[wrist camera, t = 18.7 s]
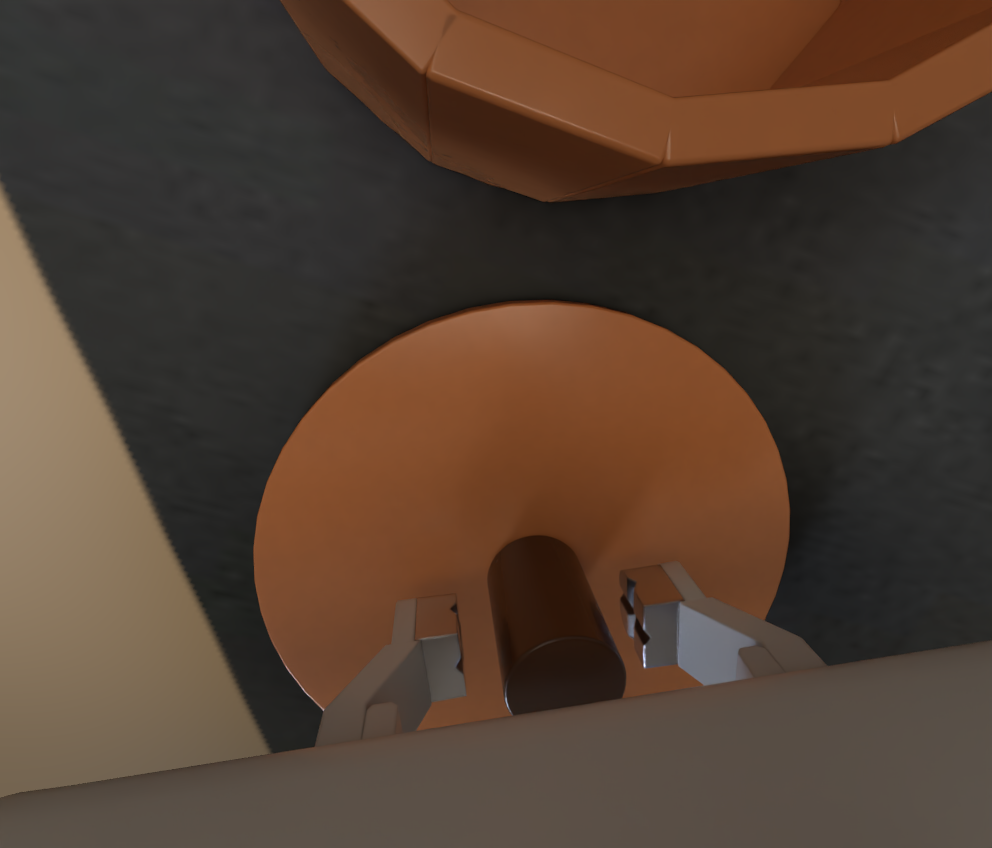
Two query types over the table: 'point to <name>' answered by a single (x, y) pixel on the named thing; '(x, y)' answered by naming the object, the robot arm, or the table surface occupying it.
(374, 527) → the lid
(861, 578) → the table surface
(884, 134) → the orange pot
